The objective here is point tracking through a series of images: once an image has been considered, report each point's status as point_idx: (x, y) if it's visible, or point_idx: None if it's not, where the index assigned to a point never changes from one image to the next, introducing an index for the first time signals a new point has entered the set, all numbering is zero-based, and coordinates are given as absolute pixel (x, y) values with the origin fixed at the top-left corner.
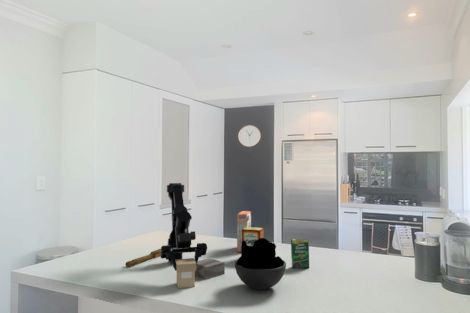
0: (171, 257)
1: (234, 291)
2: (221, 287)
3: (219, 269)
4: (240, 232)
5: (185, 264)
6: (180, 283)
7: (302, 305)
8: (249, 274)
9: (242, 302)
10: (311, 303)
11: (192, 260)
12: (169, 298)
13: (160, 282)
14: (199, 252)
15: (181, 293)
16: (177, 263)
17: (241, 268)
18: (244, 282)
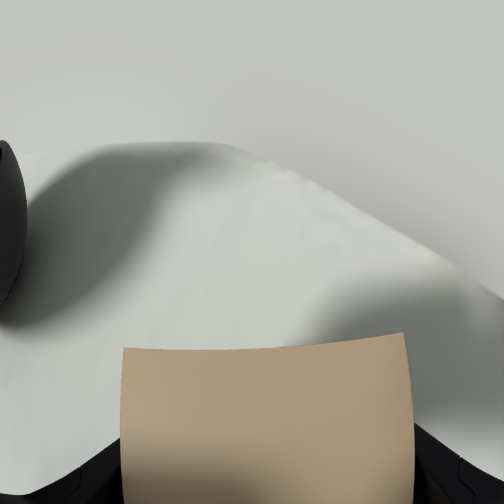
0: (496, 485)
1: (66, 266)
2: (86, 330)
3: None
4: None
5: (278, 350)
6: None
7: (26, 164)
8: (16, 159)
9: (99, 174)
10: None
11: (151, 492)
12: (372, 240)
13: None
14: (4, 495)
15: (312, 296)
16: (397, 397)
17: (6, 162)
18: (26, 225)
